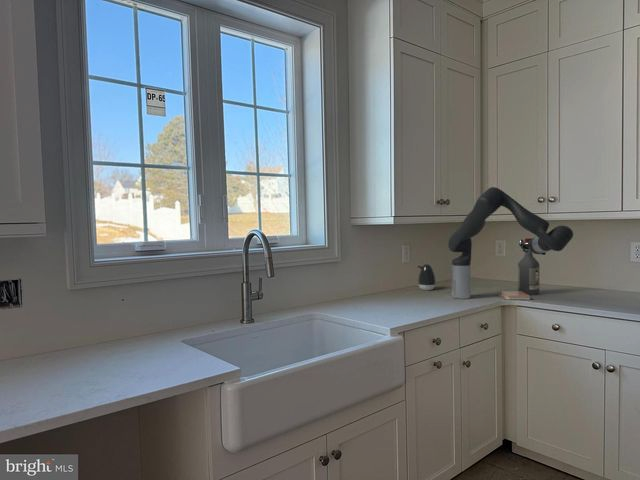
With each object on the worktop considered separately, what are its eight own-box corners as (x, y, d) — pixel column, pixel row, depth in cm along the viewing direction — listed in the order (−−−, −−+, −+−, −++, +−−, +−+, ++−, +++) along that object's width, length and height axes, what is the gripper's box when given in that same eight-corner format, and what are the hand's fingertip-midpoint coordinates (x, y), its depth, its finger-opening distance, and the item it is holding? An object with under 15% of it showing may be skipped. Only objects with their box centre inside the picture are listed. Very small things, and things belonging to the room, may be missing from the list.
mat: (504, 299, 221) (504, 298, 221) (497, 295, 233) (497, 294, 233) (533, 299, 219) (533, 298, 219) (525, 295, 231) (525, 294, 231)
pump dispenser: (417, 288, 263) (416, 263, 262) (434, 288, 261) (434, 263, 261) (418, 291, 253) (418, 265, 252) (436, 291, 251) (436, 264, 251)
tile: (509, 295, 220) (501, 290, 233) (509, 299, 220) (501, 294, 233) (529, 295, 218) (520, 290, 232) (529, 299, 218) (520, 294, 232)
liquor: (516, 293, 238) (516, 238, 237) (524, 291, 244) (524, 238, 242) (532, 295, 231) (532, 239, 230) (541, 293, 236) (541, 238, 235)
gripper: (558, 242, 190) (541, 248, 207) (529, 230, 191) (514, 237, 209) (553, 258, 189) (535, 262, 206) (523, 246, 191) (508, 251, 208)
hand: (525, 249), depth 207 cm, fingers closed
